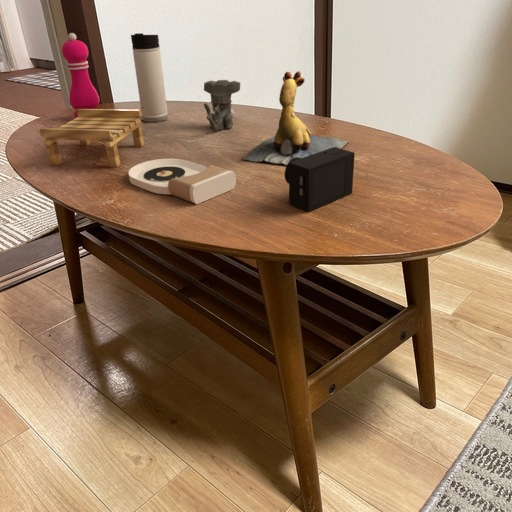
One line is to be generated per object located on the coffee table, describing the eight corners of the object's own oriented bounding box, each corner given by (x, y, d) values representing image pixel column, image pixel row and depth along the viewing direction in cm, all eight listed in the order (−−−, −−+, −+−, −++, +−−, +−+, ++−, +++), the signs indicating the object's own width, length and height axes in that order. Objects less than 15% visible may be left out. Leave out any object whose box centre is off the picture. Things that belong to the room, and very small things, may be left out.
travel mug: (137, 122, 126) (124, 33, 116) (148, 115, 131) (137, 30, 121) (161, 123, 124) (150, 33, 114) (171, 116, 130) (162, 30, 120)
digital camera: (327, 184, 87) (328, 144, 84) (352, 193, 84) (355, 151, 80) (283, 202, 82) (282, 160, 78) (308, 212, 78) (309, 168, 74)
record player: (186, 189, 79) (114, 163, 92) (188, 207, 81) (117, 179, 93) (240, 168, 86) (166, 146, 99) (241, 185, 88) (168, 162, 100)
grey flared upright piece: (266, 122, 122) (265, 78, 117) (207, 140, 111) (203, 92, 107) (225, 112, 131) (223, 71, 126) (168, 128, 121) (162, 84, 116)
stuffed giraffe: (241, 159, 99) (242, 72, 91) (278, 136, 114) (281, 59, 106) (321, 172, 93) (328, 81, 86) (348, 146, 108) (357, 66, 100)
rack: (48, 166, 100) (39, 129, 96) (85, 142, 113) (78, 108, 109) (115, 168, 98) (109, 130, 94) (145, 144, 110) (140, 109, 107)
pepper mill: (68, 118, 131) (49, 33, 121) (93, 112, 135) (78, 30, 126) (82, 123, 127) (64, 35, 117) (107, 117, 131) (93, 32, 121)
